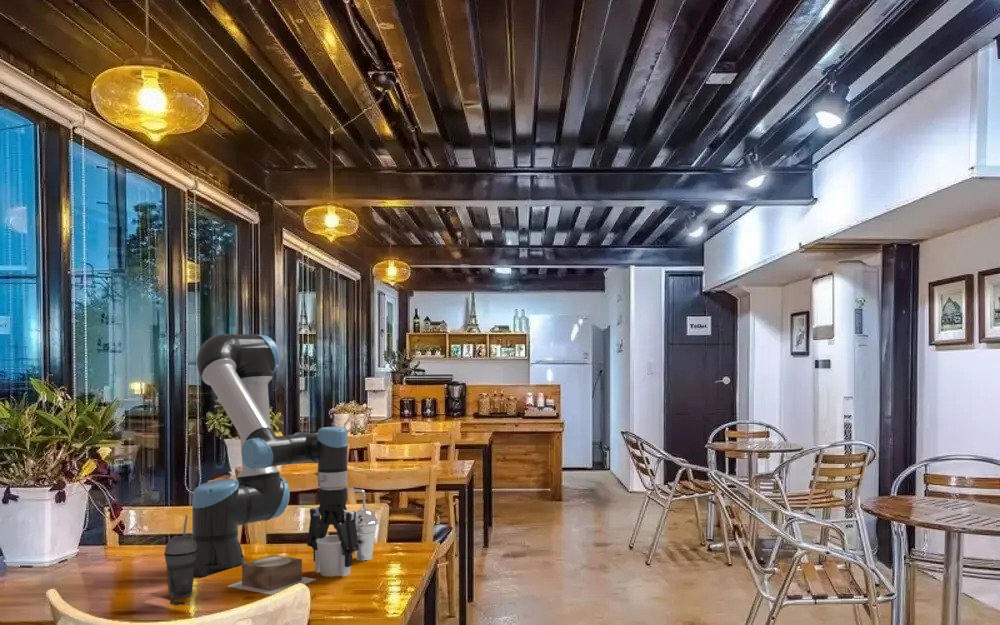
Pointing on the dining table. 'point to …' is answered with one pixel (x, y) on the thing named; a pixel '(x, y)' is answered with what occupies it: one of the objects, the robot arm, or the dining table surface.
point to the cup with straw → (365, 530)
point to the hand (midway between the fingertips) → (332, 577)
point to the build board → (239, 585)
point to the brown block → (271, 572)
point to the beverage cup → (180, 565)
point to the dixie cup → (329, 555)
